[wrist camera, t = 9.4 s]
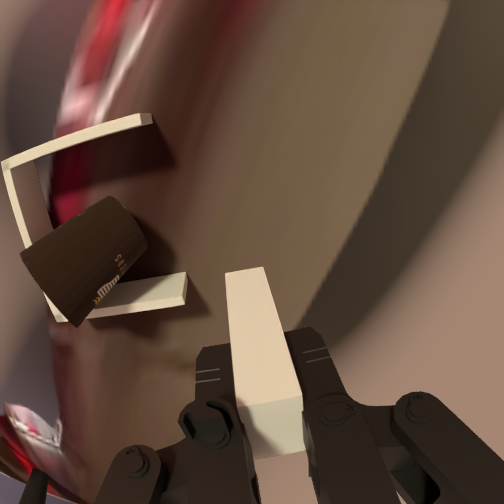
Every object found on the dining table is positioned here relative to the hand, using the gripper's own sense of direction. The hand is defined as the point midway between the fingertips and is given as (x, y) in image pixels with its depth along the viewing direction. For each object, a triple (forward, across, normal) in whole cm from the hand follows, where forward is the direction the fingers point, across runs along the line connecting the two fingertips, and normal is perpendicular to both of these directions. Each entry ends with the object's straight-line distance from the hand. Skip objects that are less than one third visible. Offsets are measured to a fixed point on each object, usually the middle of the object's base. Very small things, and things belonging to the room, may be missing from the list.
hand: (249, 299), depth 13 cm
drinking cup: (+20, -62, -59) cm, 88 cm away
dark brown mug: (+19, -11, -1) cm, 22 cm away
